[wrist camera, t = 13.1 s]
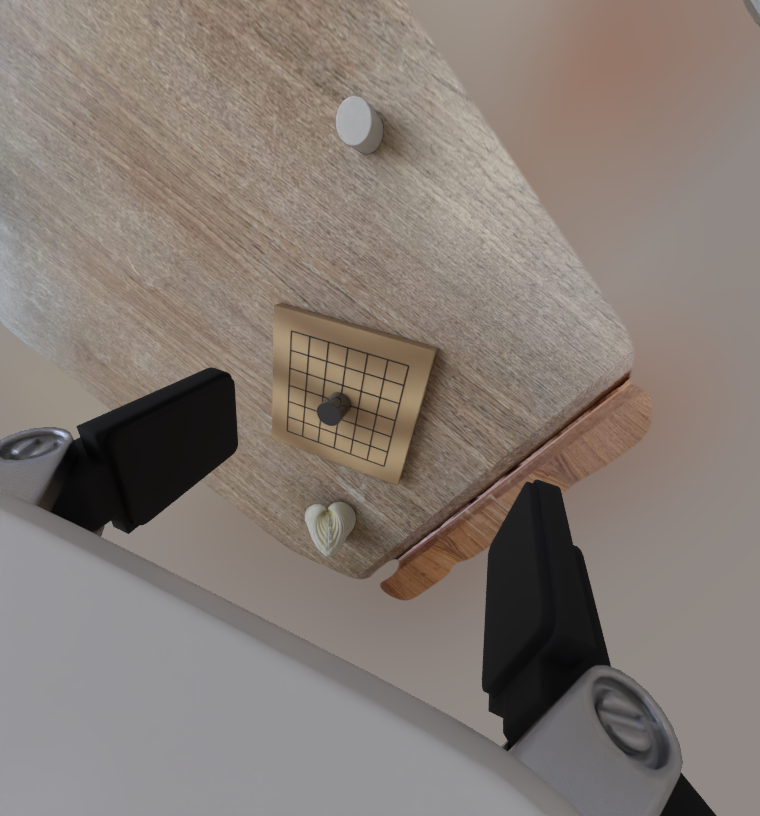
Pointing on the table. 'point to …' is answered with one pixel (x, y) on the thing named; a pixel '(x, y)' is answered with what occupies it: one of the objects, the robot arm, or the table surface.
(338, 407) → the black stone
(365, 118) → the grey cylinder
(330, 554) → the seashell
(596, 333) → the table surface
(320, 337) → the board
